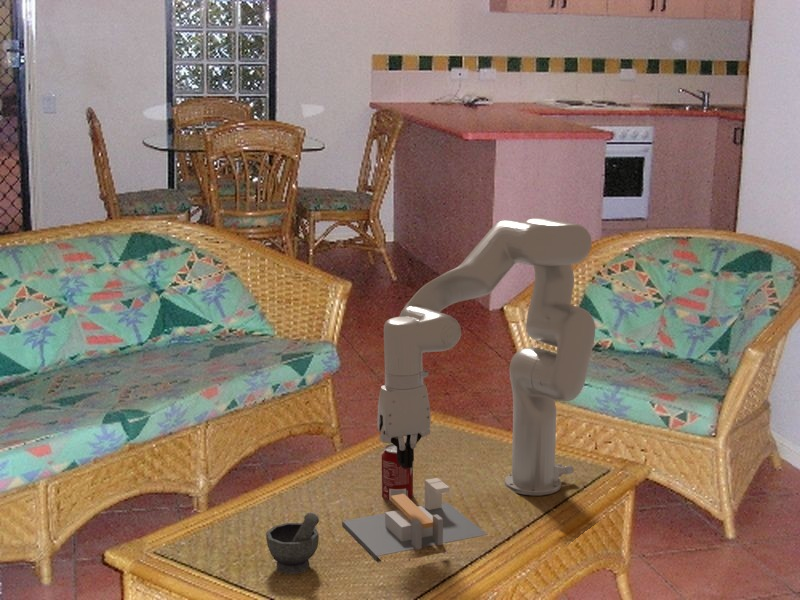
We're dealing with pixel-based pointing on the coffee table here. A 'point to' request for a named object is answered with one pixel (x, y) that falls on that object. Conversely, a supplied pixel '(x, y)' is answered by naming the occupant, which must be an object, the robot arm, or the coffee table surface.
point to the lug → (434, 493)
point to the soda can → (395, 475)
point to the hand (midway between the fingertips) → (405, 465)
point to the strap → (411, 510)
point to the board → (391, 544)
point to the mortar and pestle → (294, 544)
